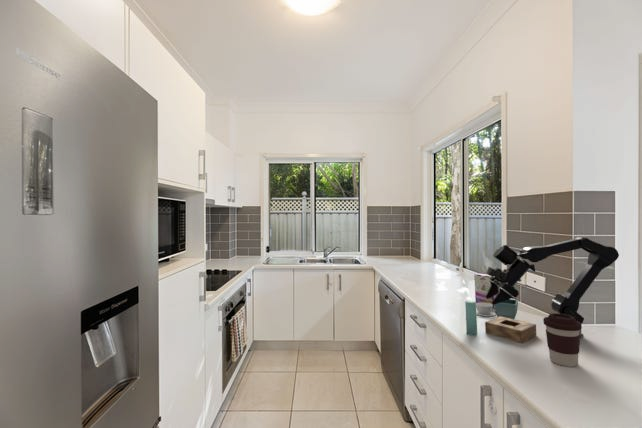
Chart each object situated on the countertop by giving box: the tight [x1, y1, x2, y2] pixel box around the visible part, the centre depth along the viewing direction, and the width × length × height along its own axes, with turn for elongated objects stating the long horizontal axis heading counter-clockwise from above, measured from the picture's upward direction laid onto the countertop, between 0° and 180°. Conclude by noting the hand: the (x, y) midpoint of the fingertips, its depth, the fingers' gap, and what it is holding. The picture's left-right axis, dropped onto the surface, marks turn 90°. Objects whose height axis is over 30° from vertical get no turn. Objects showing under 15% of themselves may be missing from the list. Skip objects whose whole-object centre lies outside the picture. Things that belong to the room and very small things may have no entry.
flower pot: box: [494, 298, 519, 320], centre depth 144 cm, size 9×9×9 cm
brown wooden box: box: [484, 316, 537, 344], centre depth 127 cm, size 14×12×4 cm
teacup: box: [476, 302, 497, 317], centre depth 155 cm, size 10×10×5 cm
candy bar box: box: [473, 272, 497, 309], centre depth 168 cm, size 11×5×16 cm, turn 25°
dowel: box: [464, 300, 478, 336], centre depth 130 cm, size 4×4×13 cm
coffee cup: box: [543, 312, 583, 368], centre depth 102 cm, size 10×10×15 cm
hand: (489, 300), depth 131 cm, fingers open, 9 cm apart
